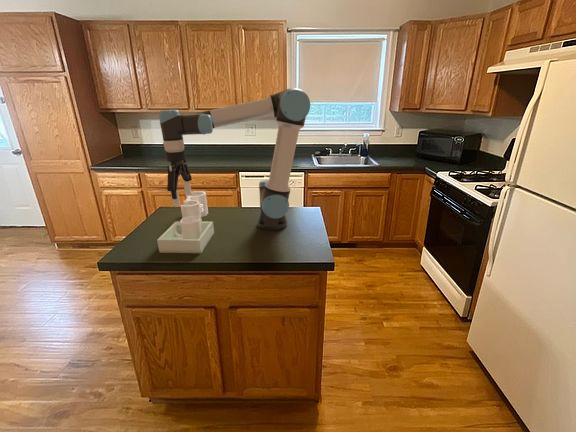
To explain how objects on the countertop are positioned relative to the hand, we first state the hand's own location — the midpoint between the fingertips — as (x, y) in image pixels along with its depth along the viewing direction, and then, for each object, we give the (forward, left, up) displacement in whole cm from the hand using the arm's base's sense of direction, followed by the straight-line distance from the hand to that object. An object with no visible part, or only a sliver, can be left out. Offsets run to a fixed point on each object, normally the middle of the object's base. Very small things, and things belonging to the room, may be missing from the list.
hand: (183, 200), depth 132 cm
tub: (0, 0, -20) cm, 20 cm away
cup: (0, 0, -19) cm, 19 cm away
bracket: (+6, -27, -20) cm, 34 cm away
